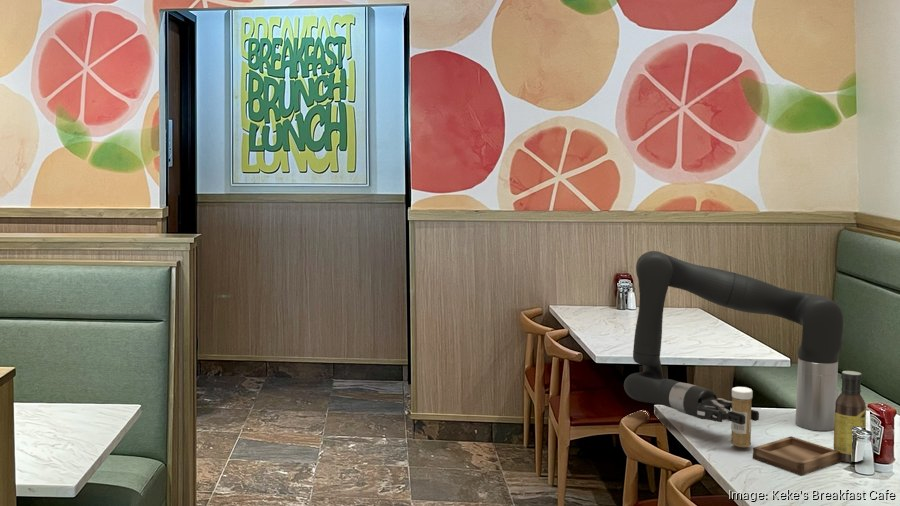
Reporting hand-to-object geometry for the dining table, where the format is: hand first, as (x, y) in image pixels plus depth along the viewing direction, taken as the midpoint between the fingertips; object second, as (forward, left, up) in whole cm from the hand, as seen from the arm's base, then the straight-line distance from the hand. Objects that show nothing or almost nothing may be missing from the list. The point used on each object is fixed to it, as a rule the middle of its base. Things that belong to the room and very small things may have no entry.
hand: (750, 418), depth 178 cm
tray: (-4, +9, -8) cm, 13 cm away
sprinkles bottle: (0, -3, -7) cm, 8 cm away
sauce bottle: (-14, +15, -8) cm, 22 cm away
